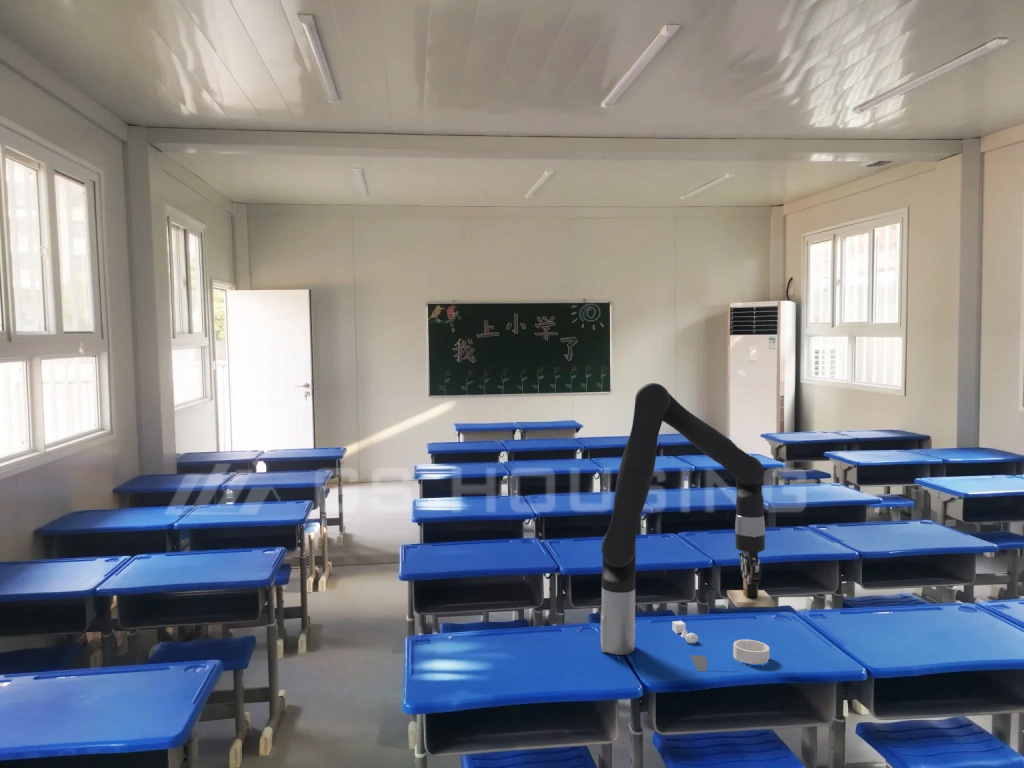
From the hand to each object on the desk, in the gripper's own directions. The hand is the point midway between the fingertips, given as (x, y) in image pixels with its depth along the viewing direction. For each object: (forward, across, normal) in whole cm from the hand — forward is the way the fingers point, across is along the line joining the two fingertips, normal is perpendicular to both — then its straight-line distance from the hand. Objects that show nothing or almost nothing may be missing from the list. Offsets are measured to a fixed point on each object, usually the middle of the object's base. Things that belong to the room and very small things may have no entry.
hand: (750, 595), depth 191 cm
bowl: (+18, -1, 0) cm, 18 cm away
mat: (+18, +3, -11) cm, 21 cm away
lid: (+1, 0, 0) cm, 1 cm away
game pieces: (+18, -16, -15) cm, 28 cm away
